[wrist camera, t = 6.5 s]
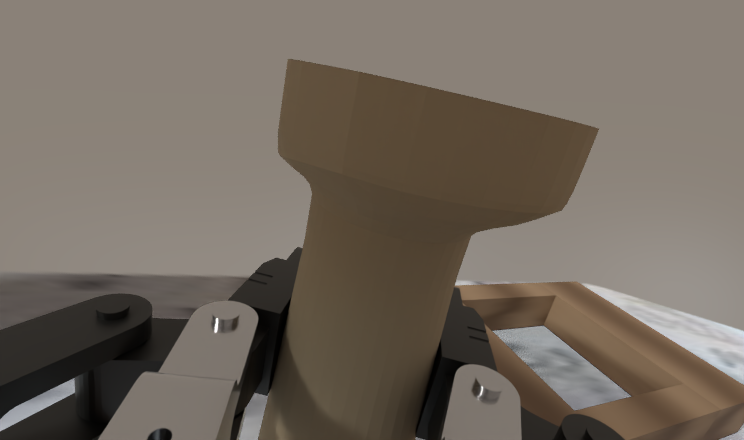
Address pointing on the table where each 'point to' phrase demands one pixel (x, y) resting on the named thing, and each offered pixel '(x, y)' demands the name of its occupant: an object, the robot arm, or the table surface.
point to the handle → (395, 236)
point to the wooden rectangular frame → (610, 363)
